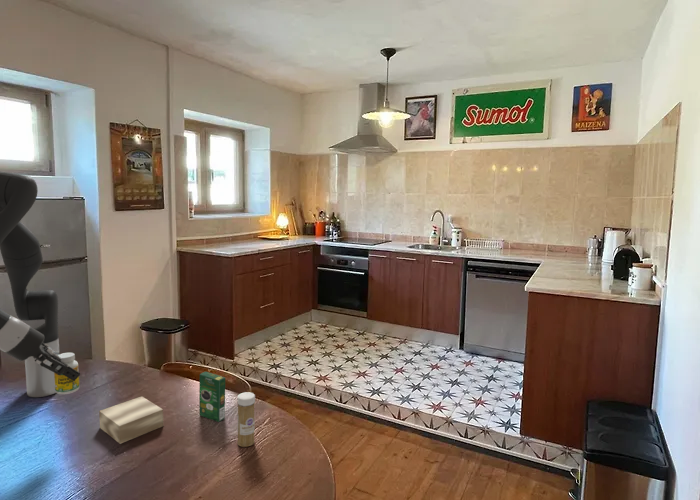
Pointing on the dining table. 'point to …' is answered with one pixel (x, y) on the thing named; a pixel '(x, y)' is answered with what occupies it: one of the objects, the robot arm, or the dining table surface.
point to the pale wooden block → (131, 419)
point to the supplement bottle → (62, 382)
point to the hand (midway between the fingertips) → (74, 373)
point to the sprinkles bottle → (246, 419)
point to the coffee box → (212, 396)
